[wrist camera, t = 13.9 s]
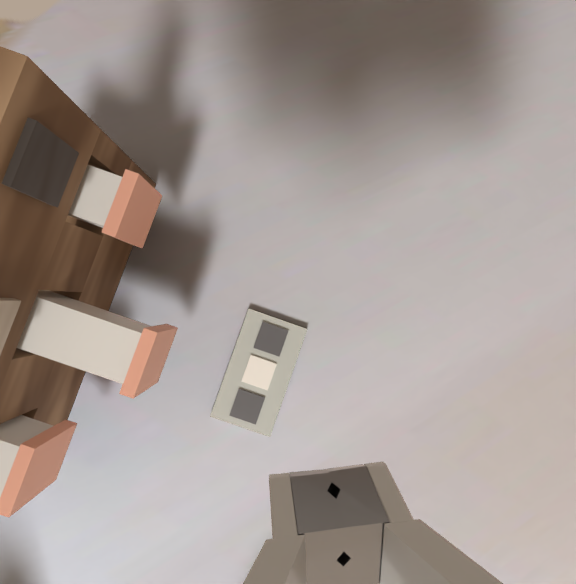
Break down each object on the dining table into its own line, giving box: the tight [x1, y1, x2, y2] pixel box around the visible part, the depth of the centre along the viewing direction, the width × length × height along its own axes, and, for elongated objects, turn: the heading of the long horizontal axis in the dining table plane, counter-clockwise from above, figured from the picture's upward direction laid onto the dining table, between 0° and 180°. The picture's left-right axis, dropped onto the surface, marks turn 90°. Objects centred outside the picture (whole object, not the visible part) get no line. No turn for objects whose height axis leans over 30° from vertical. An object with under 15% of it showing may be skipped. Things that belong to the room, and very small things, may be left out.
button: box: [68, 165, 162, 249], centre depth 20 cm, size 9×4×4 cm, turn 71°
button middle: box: [17, 290, 178, 398], centre depth 20 cm, size 9×4×4 cm, turn 71°
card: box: [210, 309, 307, 437], centre depth 27 cm, size 5×9×1 cm, turn 161°
